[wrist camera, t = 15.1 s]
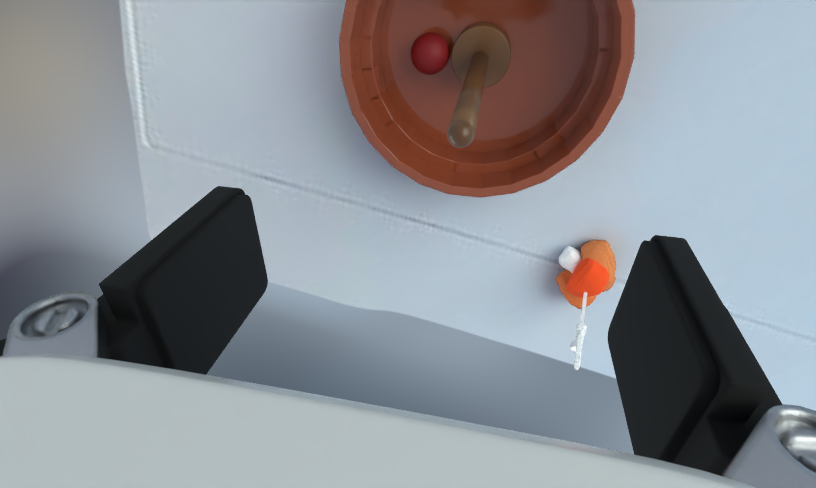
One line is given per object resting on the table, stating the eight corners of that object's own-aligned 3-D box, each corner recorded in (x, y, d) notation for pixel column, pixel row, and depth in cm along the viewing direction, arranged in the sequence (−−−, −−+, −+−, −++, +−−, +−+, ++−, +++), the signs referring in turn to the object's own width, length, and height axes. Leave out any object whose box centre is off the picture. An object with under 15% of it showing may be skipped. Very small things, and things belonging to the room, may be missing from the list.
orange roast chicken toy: (532, 296, 47) (538, 387, 38) (572, 224, 42) (592, 308, 32) (586, 314, 47) (607, 409, 37) (634, 244, 42) (672, 334, 32)
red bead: (437, 28, 35) (404, 30, 34) (458, 34, 33) (423, 36, 32) (435, 68, 37) (403, 71, 35) (455, 76, 34) (421, 80, 33)
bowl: (357, -106, 31) (329, -116, 26) (652, -104, 28) (683, -116, 24) (366, 156, 42) (347, 183, 37) (581, 176, 39) (591, 209, 34)
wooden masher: (456, 20, 34) (409, 81, 18) (514, 22, 33) (520, 88, 17) (451, 80, 36) (407, 180, 20) (506, 83, 36) (504, 190, 20)
